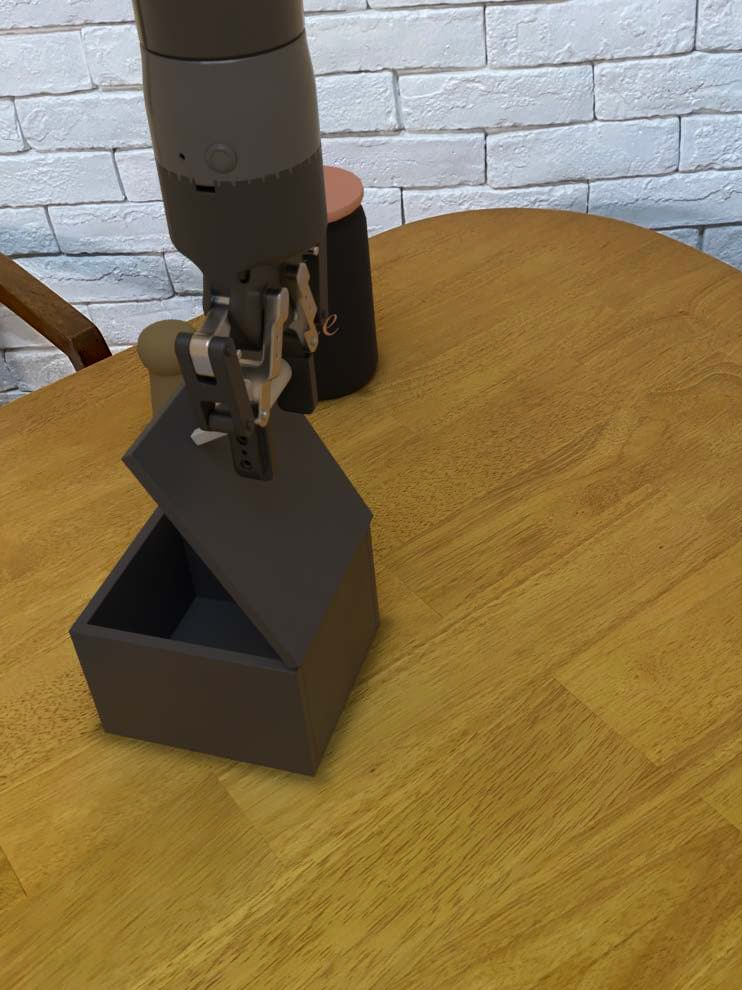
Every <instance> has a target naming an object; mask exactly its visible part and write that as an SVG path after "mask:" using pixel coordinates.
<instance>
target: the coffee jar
mask: <svg viewBox="0 0 742 990" xmlns="http://www.w3.org/2000/svg"><path fill="white" fill-rule="evenodd" d="M323 169H324V180H325V192H326V204H327V215H328V224H327V229H326V239H327V286H328V318H327V321H326V323H325V325H318V324H316V327H315V328H316V330H317V333H318V345H317V348H316V350H315V351H314V352H311V353H313V359H314V368H315V378H316V387H317V397H318V402H321V401H329V400H335V399H339V398H342V397H345V396H349V395H352V393H354V392H356V391H358V390H359V389H361V388H363V387H364V386H365V385H366V384H367V383H368V381H369V380H371V378H372V377H373V376H374V375H375V373H376V369H377V366H378V362H379V354H378V353H379V350H378V339H377V328H376V327H377V326H376V317H375V316H376V315H375V305H374V302H375V301H374V291H373V282H372V281H373V279H372V269H371V256H370V254H371V253H370V243H369V232H368V221H367V220H368V219H367V218H368V217H367V215H366V212H365V210H364V209H365V208H364V207H363V205H362V202H363V199H364V197H365V188H364V185H363V183H362V179H361V178H360V177H359V176H357V175H356V174H355V173H354V172H352V171H349V170H346V169H344V168H341V167H338V166H331V165H326V164H325V165H324V164H323ZM308 284H309V283H308ZM309 287H310V290H311V293H312V287H311V285H310V284H309ZM261 353H262V355H263V351H262V352H261Z"/></svg>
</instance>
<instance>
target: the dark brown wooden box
mask: <svg viewBox="0 0 742 990" xmlns="http://www.w3.org/2000/svg"><path fill="white" fill-rule="evenodd" d="M374 559H375V558H374V549H373V540H372V530H371V524H370V525H369V527H368V529H367V531H366V533H365V535H364V537H363V539H362V541H361V543H360V545H359V547H358V549H357V551H356V553H355V555H354V557H353V560H352V562H351V564H350V566H349V568H348V570H347V572H346V574H345V576H344V578H343V580H342V582H341V584H340V586H339V588H338V590H337V592H336V594H335V596H334V598H333V600H332V603H331V605H330V607H329V609H328V611H327V613H326V615H325V617H324V619H323V621H322V623H321V625H320V627H319V629H318V631H317V633H316V635H315V637H314V639H313V641H312V643H311V646H310V648H309V650H308V652H307V654H306V656H305V658H304V660H303V662H302V664H301V666H300V667H297V668H292V669H290V668H289V667H288V666H287V665H286V663H285V662H284V661H283V660H282V658H281V657H280V656H279V655H278V654H277V652H276V651H275V650H274V649H273V647H272V646H271V645H270V644H269V642H268V641H267V640H266V639H265V637H264V636H263V635H262V634H261V632H260V631H259V630H258V629H257V627H256V626H255V625H254V624H253V623H252V621H251V620H250V619H249V618H248V616H247V615H246V614H245V613H244V611H243V610H242V609H241V608H240V606H239V605H238V604H237V603H236V601H235V600H234V599H233V598H232V596H231V595H230V594H229V593H228V592H227V590H226V589H225V588H224V587H223V585H222V584H221V583H220V582H219V580H218V579H217V578H216V577H215V575H214V574H213V573H212V572H211V570H210V569H209V568H208V567H207V565H206V564H205V563H204V562H203V561H202V559H201V558H200V557H199V556H198V554H197V553H196V552H195V551H194V549H193V548H192V547H191V546H190V544H189V543H188V542H187V541H186V539H185V538H184V537H183V536H182V534H181V533H180V532H179V531H178V530H177V528H176V527H175V526H174V525H173V523H172V522H171V521H170V520H169V518H168V517H167V516H166V515H165V513H164V512H163V511H162V510H161V508H160V507H159V506H158V505H157V506H156V508H155V509H154V510H153V512H152V513H151V514H150V515H149V517H148V519H147V521H146V522H145V523H144V525H143V526H142V527H141V528H140V530H139V531H138V533H136V536H135V537H134V539H133V540H132V542H130V543H129V546H127V548H126V550H125V551H124V552H123V554H122V555H121V557H120V558H119V559H118V561H117V562H116V564H115V565H114V566H113V568H112V569H111V570H110V572H109V573H108V575H107V577H106V578H105V579H104V581H103V582H102V584H101V585H100V586H99V588H98V589H97V590H96V592H95V593H94V595H93V596H92V597H91V598H90V600H89V602H88V603H87V604H86V605H85V607H84V609H83V610H82V611H81V613H79V615H78V617H77V618H76V619H75V621H74V622H73V623H72V625H71V626H70V628H69V629H68V634H69V636H70V639H71V643H72V644H73V649H74V650H75V652H76V657H77V658H78V662H79V664H80V667H81V670H82V672H83V675H84V679H85V681H86V684H87V687H88V689H89V692H90V695H91V697H92V701H93V703H94V706H95V709H96V713H97V714H98V717H99V720H100V724H101V726H102V728H103V731H104V733H105V734H110V735H114V736H120V737H124V738H128V739H132V740H139V741H142V742H147V743H153V744H157V745H162V746H166V747H171V748H175V749H179V750H185V751H189V752H194V753H200V754H204V755H209V756H212V757H218V758H223V759H226V760H231V761H237V762H241V763H246V764H250V765H255V766H260V767H264V768H269V769H274V770H279V771H283V772H288V773H292V774H297V775H302V776H307V777H311V778H315V777H316V776H317V772H318V769H319V767H320V765H321V763H322V760H323V758H324V757H325V753H326V751H327V750H328V747H329V744H330V743H331V740H332V737H333V735H334V733H335V731H336V728H337V726H338V724H339V721H340V719H341V717H342V714H343V712H344V710H345V708H346V706H347V703H348V701H349V699H350V696H351V694H352V691H353V689H354V687H355V685H356V682H357V680H358V678H359V676H360V673H361V670H362V668H363V666H364V664H365V662H366V659H367V657H368V654H369V652H370V650H371V648H372V645H373V643H374V641H375V640H376V639H375V638H376V636H377V634H378V632H379V629H380V627H381V620H380V609H379V601H378V600H379V599H378V589H377V581H376V571H375V562H374V561H375V560H374Z"/></svg>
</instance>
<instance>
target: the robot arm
mask: <svg viewBox="0 0 742 990" xmlns="http://www.w3.org/2000/svg"><path fill="white" fill-rule="evenodd" d="M131 4H132V10H133V17H134V21H135V27H136V31H137V37H138V41H139V50H140V59H141V76H142V77H141V79H142V81H141V82H142V83H141V84H142V91H143V92H142V94H143V95H142V96H143V100H144V102H143V103H144V108H145V114H146V118H147V119H146V120H147V124H148V129H149V136H150V140H151V141H150V142H151V145H152V151H153V156H154V162H155V166H156V171H157V177H158V183H159V187H160V194H161V199H162V205H163V209H164V215H165V220H166V226H167V230H168V231H167V232H168V235H169V239H170V242H171V243H172V245H173V247H174V248H175V249H176V251H178V253H180V255H182V256H183V257H185V258H186V259H188V260H189V261H190V262H192V264H194V265H195V266H196V267H197V269H199V271H200V272H201V274H202V300H201V302H202V303H201V306H202V312H203V315H204V319H203V320H202V322H201V324H200V325H199V327H198V329H197V330H196V331H197V332H196V333H192V332H184V331H180V332H179V333H178V334H177V336H176V339H175V345H174V348H175V354H176V357H177V360H178V363H179V366H180V369H181V372H182V375H183V378H184V381H185V384H186V388H187V391H188V394H189V397H190V400H191V403H192V406H193V409H194V412H195V415H196V418H197V421H198V424H199V427H200V429H201V430H202V431H208V432H212V431H214V432H220V433H227V434H228V435H229V441H230V447H231V453H232V459H233V464H234V470H235V472H236V473H237V474H238V475H239V476H241V477H244V478H250V479H256V480H262V481H270V480H272V478H273V477H274V475H275V474H276V472H277V470H278V464H277V457H276V450H275V443H274V436H273V428H272V421H271V417H269V416H270V392H271V381H272V380H273V379H274V378H277V377H278V376H279V375H280V372H281V358H283V359H284V360H285V361H286V362H287V363H288V364H289V366H290V368H291V371H292V375H291V378H290V380H289V382H288V383H287V385H286V386H285V388H284V389H283V391H282V392H281V394H280V395H279V397H278V398H277V404H278V406H279V408H280V409H282V410H283V411H286V412H293V413H299V414H304V415H305V416H306V415H307V416H309V415H312V414H313V413H314V412H315V410H316V408H317V406H318V405H319V401H318V397H317V387H316V378H315V368H314V359H313V353H311V352H314V351H315V350H316V348H317V345H318V333H317V330H316V328H315V327H316V324H318V325H325V323H326V321H327V318H328V286H327V239H326V229H327V224H328V215H327V204H326V192H325V180H324V169H323V165H324V158H323V146H322V137H321V136H322V135H321V125H320V113H319V100H318V90H317V83H316V75H315V70H314V65H313V61H312V57H311V53H310V48H309V44H308V39H307V38H308V36H307V30H306V27H305V26H306V19H305V8H304V0H131ZM308 283H309V284H310V285H311V287H312V293H311V290H310V287H309V284H308ZM240 350H245V351H252V352H262V351H263V358H262V361H253V360H246V359H241V356H242V353H241V351H240ZM244 379H248V380H250V381H251V382H252V384H253V395H252V401H251V400H249V396H248V393H247V389H246V385H245V381H244ZM215 403H216V406H215Z"/></svg>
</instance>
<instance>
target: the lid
mask: <svg viewBox="0 0 742 990" xmlns="http://www.w3.org/2000/svg"><path fill="white" fill-rule="evenodd" d="M240 351H241V353H242V356H241V359H246V360H253V361H262V358H263V355H262V353H261V352H252V351H245V350H240ZM291 375H292V371H291V368H290V366H289V364H288V363H287V362H286V361H285V360H284V359H283V358H281V372H280V375H279V376H278V377H277V378H274V379H273V380H272V381H271V392H270V416H269V417H271V421H272V428H273V436H274V443H275V450H276V457H277V464H278V470H277V472H276V474H275V475H274V477H273V478H272V480H270V481H262V480H256V479H250V478H244V477H241V476H239V475H238V474H237V473H236V472H235V470H234V464H233V459H232V453H231V447H230V441H229V435H228V434H227V433H220V432H214V431H212V432H208V431H202V430H201V429H200V427H199V424H198V421H197V418H196V415H195V412H194V409H193V406H192V403H191V400H190V397H189V394H188V391H187V388H186V384H185V381H184V379H183V380H182V382H181V383H180V384H179V386H178V387H177V388H176V389H175V391H174V392H173V393H172V394H171V396H170V397H169V398H168V399H167V401H166V402H165V403H164V405H163V406H162V407H161V408H160V410H159V411H158V412H157V413H156V415H155V416H154V417H153V416H152V418H151V420H150V421H149V422H148V423H147V425H146V426H145V427H144V429H143V430H142V431H141V433H139V434H138V436H137V438H135V440H134V441H133V442H132V444H130V446H129V448H128V449H127V450H126V451H125V453H123V455H122V456H121V458H120V460H121V462H122V463H123V464H124V465H125V467H127V469H128V470H129V471H130V473H131V474H132V475H133V476H134V477H135V479H136V480H137V481H138V482H139V484H140V485H141V486H142V487H143V488H144V490H145V491H146V492H147V494H148V495H149V496H150V497H151V499H152V500H153V501H154V502H155V504H156V505H157V506H159V507H160V508H161V510H162V511H163V512H164V513H165V515H166V516H167V517H168V518H169V520H170V521H171V522H172V523H173V525H174V526H175V527H176V528H177V530H178V531H179V532H180V533H181V534H182V536H183V537H184V538H185V539H186V541H187V542H188V543H189V544H190V546H191V547H192V548H193V549H194V551H195V552H196V553H197V554H198V556H199V557H200V558H201V559H202V561H203V562H204V563H205V564H206V565H207V567H208V568H209V569H210V570H211V572H212V573H213V574H214V575H215V577H216V578H217V579H218V580H219V582H220V583H221V584H222V585H223V587H224V588H225V589H226V590H227V592H228V593H229V594H230V595H231V596H232V598H233V599H234V600H235V601H236V603H237V604H238V605H239V606H240V608H241V609H242V610H243V611H244V613H245V614H246V615H247V616H248V618H249V619H250V620H251V621H252V623H253V624H254V625H255V626H256V627H257V629H258V630H259V631H260V632H261V634H262V635H263V636H264V637H265V639H266V640H267V641H268V642H269V644H270V645H271V646H272V647H273V649H274V650H275V651H276V652H277V654H278V655H279V656H280V657H281V658H282V660H283V661H284V662H285V663H286V665H287V666H288V667H289V668H290V669H292V668H297V667H300V666H301V664H302V662H303V660H304V658H305V656H306V654H307V652H308V650H309V648H310V646H311V643H312V641H313V639H314V637H315V635H316V633H317V631H318V629H319V627H320V625H321V623H322V621H323V619H324V617H325V615H326V613H327V611H328V609H329V607H330V605H331V603H332V600H333V598H334V596H335V594H336V592H337V590H338V588H339V586H340V584H341V582H342V580H343V578H344V576H345V574H346V572H347V570H348V568H349V566H350V564H351V562H352V560H353V557H354V555H355V553H356V551H357V549H358V547H359V545H360V543H361V541H362V539H363V537H364V535H365V533H366V531H367V529H368V527H369V525H370V526H371V522H372V521H373V519H374V513H373V511H372V510H371V509H370V507H369V506H368V504H367V503H366V501H365V500H364V499H363V497H362V496H361V494H360V493H359V491H358V490H357V489H356V488H355V486H354V484H353V483H352V481H351V480H350V479H349V477H348V476H347V474H346V473H345V471H344V470H343V469H342V467H341V466H340V464H339V463H338V461H337V459H335V457H334V455H333V454H332V452H331V451H330V450H329V448H328V446H326V444H325V442H324V441H323V440H322V438H321V436H320V435H319V434H318V432H317V431H316V429H315V428H314V426H313V425H312V424H311V422H310V421H309V419H308V418H307V417H306V414H299V413H293V412H286V411H283V410H282V409H280V408H279V406H278V404H277V398H278V397H279V395H280V394H281V392H282V391H283V389H284V388H285V386H286V385H287V383H288V382H289V380H290V378H291ZM244 381H245V385H246V389H247V393H248V396H249V400H251V401H252V395H253V384H252V382H251V381H250V380H248V379H244ZM215 406H216V403H215Z"/></svg>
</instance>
